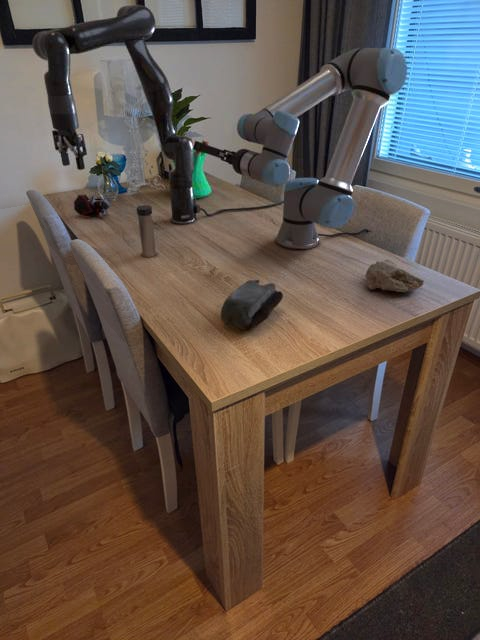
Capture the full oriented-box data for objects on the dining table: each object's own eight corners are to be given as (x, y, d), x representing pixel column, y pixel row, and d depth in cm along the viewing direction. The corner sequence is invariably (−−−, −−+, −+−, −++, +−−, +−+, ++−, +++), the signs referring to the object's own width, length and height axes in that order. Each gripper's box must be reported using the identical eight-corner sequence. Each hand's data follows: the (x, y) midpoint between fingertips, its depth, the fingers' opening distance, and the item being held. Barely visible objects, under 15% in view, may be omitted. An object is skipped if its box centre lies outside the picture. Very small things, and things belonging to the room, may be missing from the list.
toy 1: (101, 187, 180) (72, 186, 186) (93, 207, 178) (64, 205, 183) (117, 205, 191) (89, 203, 196) (109, 223, 188) (82, 221, 194)
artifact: (384, 303, 127) (425, 296, 132) (391, 281, 123) (434, 275, 127) (349, 272, 141) (388, 267, 145) (355, 251, 136) (395, 247, 141)
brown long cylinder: (148, 258, 152) (143, 211, 144) (140, 254, 155) (134, 209, 146) (158, 254, 155) (153, 208, 147) (150, 251, 158) (145, 205, 149)
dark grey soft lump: (254, 340, 110) (255, 313, 105) (215, 329, 114) (214, 302, 110) (284, 308, 123) (285, 283, 119) (248, 299, 128) (248, 274, 124)
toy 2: (167, 190, 223) (163, 137, 210) (207, 188, 227) (205, 135, 214) (172, 202, 206) (167, 145, 193) (214, 199, 210) (213, 143, 197)
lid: (143, 216, 144) (142, 210, 143) (134, 213, 147) (133, 207, 146) (155, 213, 148) (154, 207, 147) (145, 210, 150) (145, 204, 149)
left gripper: (87, 112, 131) (96, 168, 139) (61, 108, 138) (72, 162, 147) (64, 114, 126) (75, 173, 134) (39, 110, 134) (51, 166, 142)
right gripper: (212, 165, 127) (177, 152, 142) (273, 185, 144) (236, 171, 158) (220, 138, 125) (183, 127, 140) (281, 162, 141) (242, 150, 156)
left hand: (73, 167), depth 141 cm, fingers open, 8 cm apart
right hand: (211, 151), depth 149 cm, fingers open, 13 cm apart
